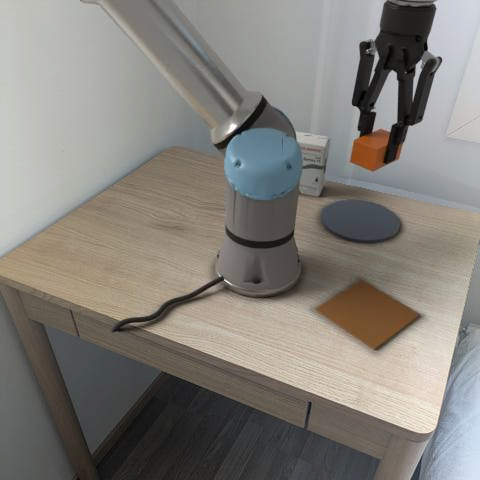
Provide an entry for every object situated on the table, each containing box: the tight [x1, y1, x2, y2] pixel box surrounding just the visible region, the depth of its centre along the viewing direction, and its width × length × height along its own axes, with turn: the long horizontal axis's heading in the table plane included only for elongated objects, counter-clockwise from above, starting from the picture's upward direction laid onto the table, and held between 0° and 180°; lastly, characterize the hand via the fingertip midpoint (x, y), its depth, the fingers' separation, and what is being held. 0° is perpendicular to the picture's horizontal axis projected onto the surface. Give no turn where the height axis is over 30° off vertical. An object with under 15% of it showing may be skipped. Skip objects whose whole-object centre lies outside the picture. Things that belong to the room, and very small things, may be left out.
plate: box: [320, 199, 401, 244], centre depth 102 cm, size 16×16×1 cm
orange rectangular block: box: [349, 128, 404, 173], centre depth 86 cm, size 8×5×4 cm, turn 133°
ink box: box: [294, 130, 332, 197], centre depth 108 cm, size 9×5×12 cm, turn 71°
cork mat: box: [315, 279, 421, 351], centre depth 80 cm, size 12×12×1 cm
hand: (375, 155), depth 87 cm, fingers closed on orange rectangular block, 5 cm apart
